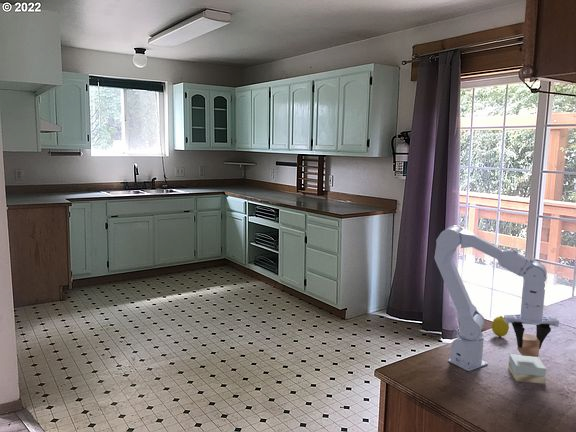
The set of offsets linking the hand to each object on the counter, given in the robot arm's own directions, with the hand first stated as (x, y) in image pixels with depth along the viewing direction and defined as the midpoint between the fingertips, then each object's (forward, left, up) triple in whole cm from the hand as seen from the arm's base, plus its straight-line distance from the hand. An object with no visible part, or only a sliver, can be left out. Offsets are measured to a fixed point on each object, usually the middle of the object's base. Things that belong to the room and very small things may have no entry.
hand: (528, 347), depth 139 cm
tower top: (0, 0, -7) cm, 7 cm away
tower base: (0, 0, -10) cm, 10 cm away
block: (0, 0, -2) cm, 2 cm away
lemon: (+18, +22, -9) cm, 30 cm away
